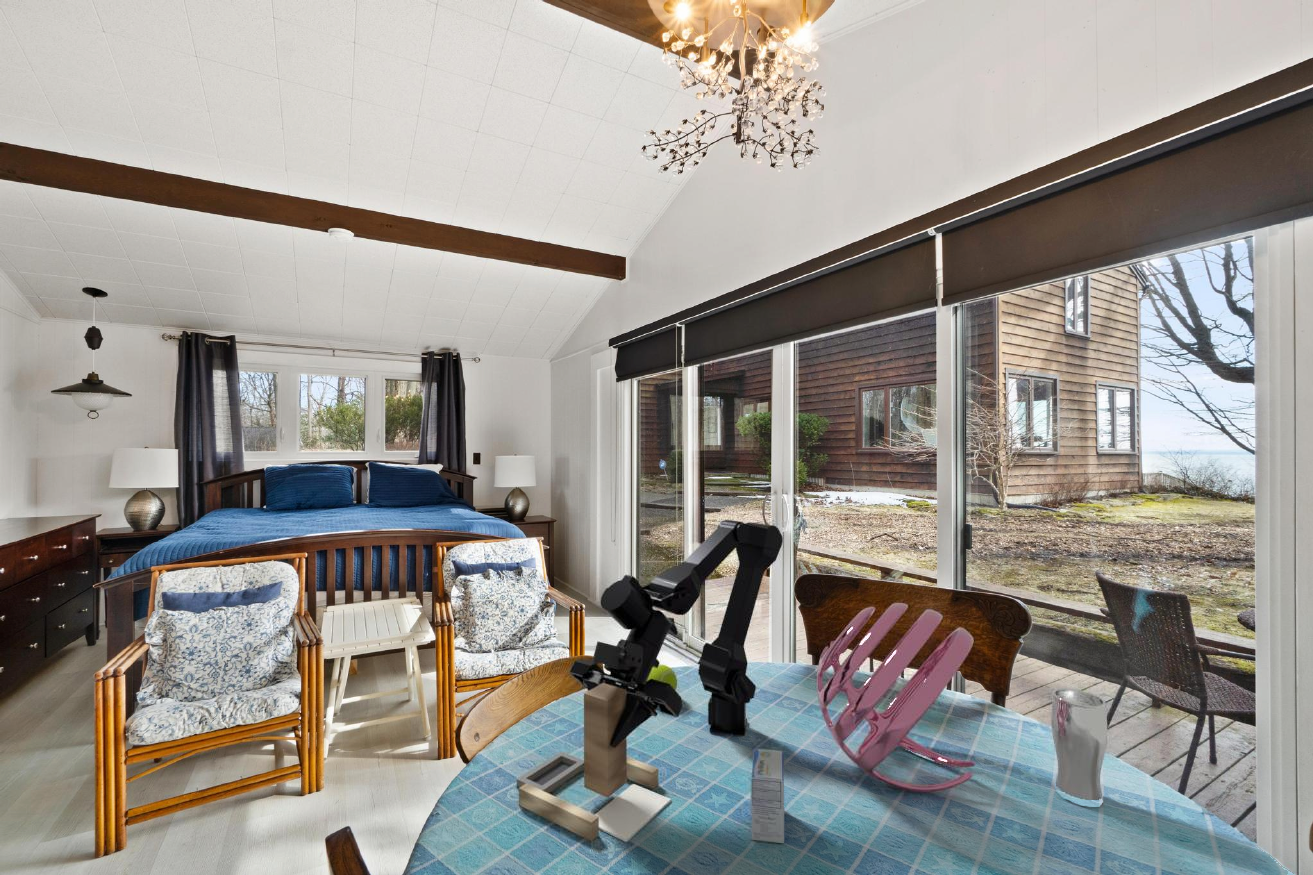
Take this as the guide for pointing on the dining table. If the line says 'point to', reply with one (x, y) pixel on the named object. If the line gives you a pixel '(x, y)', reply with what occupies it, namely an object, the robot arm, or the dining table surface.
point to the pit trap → (552, 772)
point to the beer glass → (1079, 741)
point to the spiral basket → (907, 704)
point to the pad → (630, 812)
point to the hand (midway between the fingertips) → (599, 741)
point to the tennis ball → (664, 675)
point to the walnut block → (604, 740)
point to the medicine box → (767, 796)
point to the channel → (574, 815)
